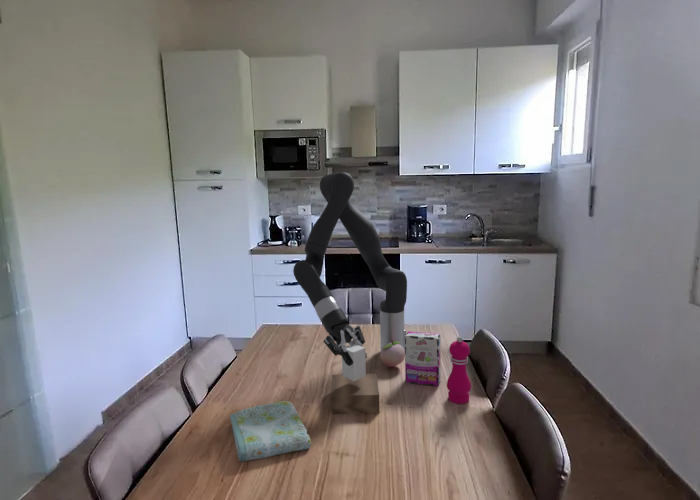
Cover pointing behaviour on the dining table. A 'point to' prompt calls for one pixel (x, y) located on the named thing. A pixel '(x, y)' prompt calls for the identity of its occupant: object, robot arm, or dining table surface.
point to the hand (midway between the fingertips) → (358, 361)
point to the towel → (268, 431)
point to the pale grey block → (355, 363)
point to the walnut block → (354, 395)
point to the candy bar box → (422, 358)
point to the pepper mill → (459, 372)
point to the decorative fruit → (392, 354)
